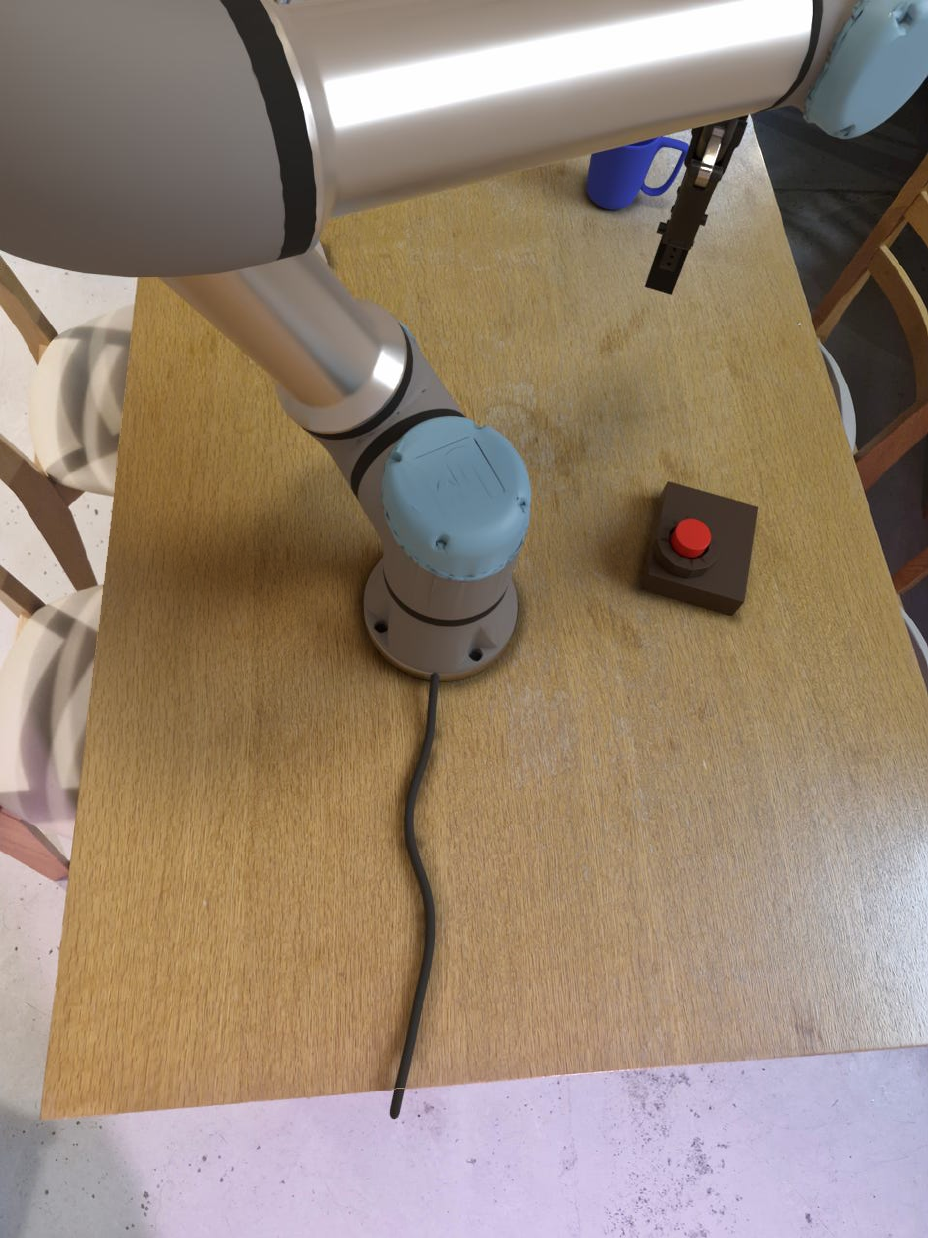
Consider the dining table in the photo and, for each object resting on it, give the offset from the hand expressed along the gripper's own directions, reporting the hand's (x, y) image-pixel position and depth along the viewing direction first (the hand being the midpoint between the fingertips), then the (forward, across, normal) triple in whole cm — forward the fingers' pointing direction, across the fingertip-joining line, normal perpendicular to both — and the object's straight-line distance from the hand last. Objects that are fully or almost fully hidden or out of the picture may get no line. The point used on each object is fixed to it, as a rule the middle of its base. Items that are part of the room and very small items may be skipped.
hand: (659, 285), depth 82 cm
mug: (+19, +36, +7) cm, 41 cm away
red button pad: (+19, -16, -13) cm, 27 cm away
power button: (+14, -18, -11) cm, 25 cm away
